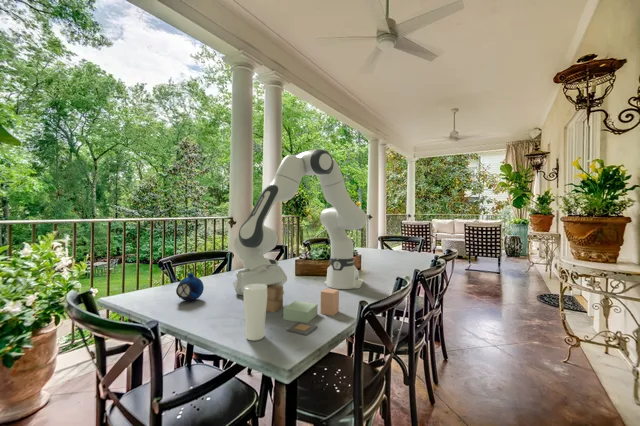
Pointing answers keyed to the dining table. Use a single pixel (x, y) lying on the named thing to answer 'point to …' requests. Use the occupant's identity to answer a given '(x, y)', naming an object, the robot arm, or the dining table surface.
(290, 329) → the card
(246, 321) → the drinking glass
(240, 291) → the die
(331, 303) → the terracotta block
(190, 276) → the bomb
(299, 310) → the sage base block
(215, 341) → the dining table surface
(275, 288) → the walnut block
